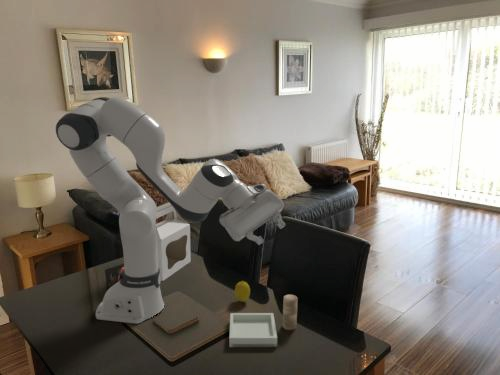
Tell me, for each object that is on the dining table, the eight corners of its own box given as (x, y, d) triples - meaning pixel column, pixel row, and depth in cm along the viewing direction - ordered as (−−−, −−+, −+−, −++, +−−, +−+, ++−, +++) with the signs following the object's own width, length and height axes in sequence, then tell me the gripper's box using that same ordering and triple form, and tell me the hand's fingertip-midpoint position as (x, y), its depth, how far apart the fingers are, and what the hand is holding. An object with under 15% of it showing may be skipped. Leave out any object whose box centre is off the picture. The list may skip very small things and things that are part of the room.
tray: (229, 347, 119) (229, 338, 119) (230, 321, 133) (230, 313, 132) (277, 347, 120) (277, 337, 119) (273, 321, 133) (273, 313, 133)
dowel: (283, 330, 128) (284, 301, 126) (281, 322, 133) (282, 294, 130) (297, 330, 129) (298, 301, 126) (295, 322, 133) (296, 294, 131)
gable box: (162, 281, 161) (159, 213, 155) (134, 276, 166) (131, 209, 159) (191, 261, 181) (190, 200, 175) (166, 256, 186) (163, 197, 180)
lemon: (248, 306, 143) (248, 285, 141) (233, 304, 144) (233, 283, 142) (251, 299, 148) (251, 278, 146) (236, 297, 149) (236, 277, 147)
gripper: (218, 212, 115) (250, 247, 111) (267, 181, 127) (298, 212, 122) (213, 223, 120) (244, 258, 116) (261, 193, 131) (291, 223, 127)
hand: (272, 234), depth 119 cm, fingers open, 8 cm apart
